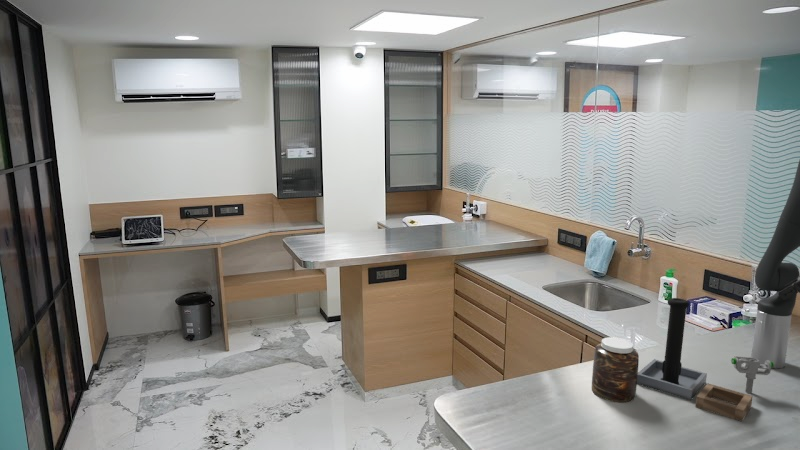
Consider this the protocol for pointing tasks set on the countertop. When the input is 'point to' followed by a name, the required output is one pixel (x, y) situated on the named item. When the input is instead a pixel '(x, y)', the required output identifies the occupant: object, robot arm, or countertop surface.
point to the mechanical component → (751, 369)
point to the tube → (674, 340)
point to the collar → (723, 408)
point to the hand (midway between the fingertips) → (784, 293)
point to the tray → (687, 381)
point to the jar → (615, 370)
